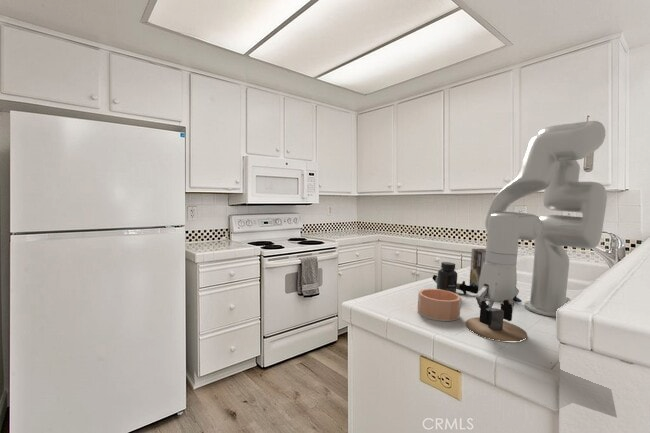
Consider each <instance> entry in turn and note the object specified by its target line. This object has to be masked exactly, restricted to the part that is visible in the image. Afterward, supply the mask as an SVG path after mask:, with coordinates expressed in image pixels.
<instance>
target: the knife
mask: <svg viewBox="0 0 650 433" xmlns="http://www.w3.org/2000/svg"><path fill="white" fill-rule="evenodd" d="M437 276H438V275H436V274H433V275H432V280H433V282H435V283H436V284H437ZM469 285H470V284H469ZM469 285H468V284H466V281H465V280H463V281H462V282H461V283H458V282H457V287H456V290H459V291H461V292H463V296H465V295H467V292H468V293H472V294H474V295H476V294H477V293H478V288H479V286H477V285H475V284H474V283H472V284H471V285H470V286H469ZM514 303H522V299H520V298H519V297H518V296H517V297H516V300H515V302H514Z"/></svg>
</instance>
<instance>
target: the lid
mask: <svg viewBox="0 0 650 433" xmlns="http://www.w3.org/2000/svg"><path fill="white" fill-rule="evenodd" d="M490 311H492V321H491V325H490V326H488V325H486V324H484V323H481V322H480V321H479V320H480V316H477V317H471V318H468V319H466V321H465V327H466V329H467V328H468V329H469V330H468V329H467V330H468V331H470V330H471V331H473V332H474V333H476V334H478V335H477V336H479V335H480V336H479V337H481V336H483V337H482V338H484V337H486V338H485V339H487V338H490V339H494V340H493V341H495V340H500V341H520V340H523V339H525V338H526V337H528V333H527V332H526V330H524V329H523V328H521V327H520V326H519V325H517V324H514V323H511V322H510V321H507V320H504V319H503V318H504V311H503V310H501V308H496V307H492V308H491V310H490ZM471 331H470V332H471ZM473 332H472V333H473ZM474 333H473V334H474ZM476 334H475V335H476ZM490 339H489V340H490ZM526 339H527V338H526ZM500 341H499V342H500Z"/></svg>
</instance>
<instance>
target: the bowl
mask: <svg viewBox="0 0 650 433" xmlns="http://www.w3.org/2000/svg"><path fill="white" fill-rule="evenodd" d="M417 295H418V298H417V299H418V300H417V312H418V314H419V315H421V316H422V317H423V318H426V319H430V320H433V321H437V322H454V321H457V320H459V319H460V316H461V305H462V297H461V296H460V295H459V294H458V293H457V292H456V293H453V292H450V291H446V290H440V289H437V288H425V289H421V290H419V291H418V294H417Z"/></svg>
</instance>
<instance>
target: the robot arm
mask: <svg viewBox="0 0 650 433" xmlns="http://www.w3.org/2000/svg"><path fill="white" fill-rule="evenodd" d="M605 138H606V127H605V126H604V125H603V123H602V122H600V121H599V120H588V121H579V122H573V123H572V122H571V123H563V124H556V125H551V126H547V127H543V128H542V129H541V130H539V131H538V133H537V135H535V136H533V137H532V138H531V139H530V140H529V142H528V145H527V148H526V150H525V151H524V152H525V153H524V155H523V159H522V162H521V164H520V167H519V170H518V174H517V176H516V178H515V179H513V180H512V181H511V182H509V183H507V185H505V186H504V187H503V188H502V189H501V190H500V191H499V192H497V194H496V195H495V196H494V197H493V199H492V200H491V203H490V206H489V208H488V211H487V214H486V218H485V222H484V224H485V229H486V232H487V233H486V234H487V235H486V245H485V246H486V247H485V249H486V257H485V263H484V264H483V267H482V270H481V275H480V280H479V288H478V293H477V294H474V296H475V300H476V303H477V305H478V307H479V308H480V309H479V317H480V320H479V321H480V322H481V323H484V324H486V325H488V326H490V325H491V321H492V311H490V310H491V308H493V306H494V303H497V302H502V303H501V304H500V309H501V310H503V311H504V318H503V320H504V321H507V322H512V320H513V310H514V307H515V303H516V302H515V300H516V297H517V298H518V295H519V293H520V290H519V288H517V280H518V279H517V277H518V276H517V274H518V273H517V260H518V249H519V241H533V242H534V251H533V252H534V253H533V254H534V255H533V267H532V275H531V277H532V278H531V286H530V287H531V289H530V298H529V300H528V301H525V302H524V305H523V306H524V308H525V309H526V310H528V311H531V312H533V313H536V314H538V315H542V316H546V317H547V316H548V317H552V318H557V317H556V311H557V309H558V308H560V307H561V306H563V305H564V304H565V303H566V304H568V303H567V302H568V301H570V302H571V298H570V297H568V296H567V290H568V289H567V288H568V279H569V270H570V258H569V255H568V253H567V252H566V251H565V249H564V247H567V248H568V247H570V248H577V249H586V250H590V249H591V250H593V249H595V248H597V247H598V246H599V244H600V242H601V239H602V234H603V230H604V222H605V215H606V209H607V208H606V207H607V201H608V200H607V199H608V195H607V190H606V188H605V186H604V185H603V183H600V182H597V181H596V182H595V181H579V179H580V170H581V165H580V163H579V162H578V161H579V160H583V159H584V158H586V157H588V156H589V155H591V154H592V153H594V152H595V151H597V150H598V149H600V147H601V146H602V145H603V143H604V142H605ZM542 191H543V198H542V199H543V206H544V207H545V209H547V210H551V211H556V212H567V213H569V212H570V213H581V214H582V216H573V215H564V214H563V215H562V214H561V215H560V214H544V215H541V216H538V215H536V214H533V213H529V212H528V213H525V212H514V211H507V210H508V209H509V207H510V206H511V205H512V204H513V203H514V202H516V201H518V200H520V199H521V198H524V197H527V196H530V195H532V194H536V193H539V192H542ZM487 302H488V304H487ZM566 304H565V305H566Z"/></svg>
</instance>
